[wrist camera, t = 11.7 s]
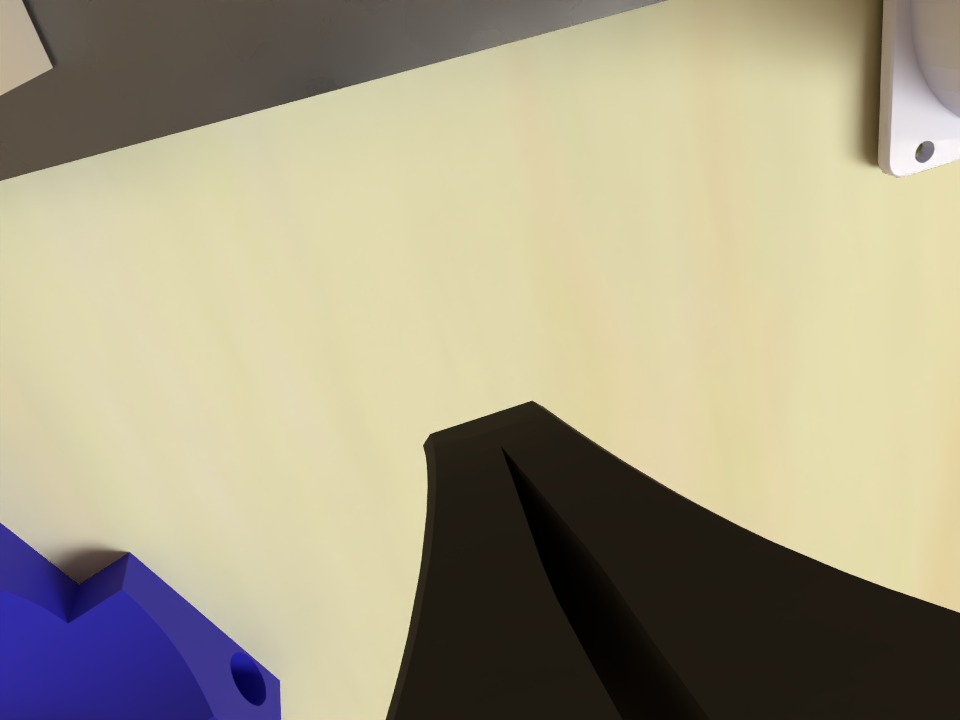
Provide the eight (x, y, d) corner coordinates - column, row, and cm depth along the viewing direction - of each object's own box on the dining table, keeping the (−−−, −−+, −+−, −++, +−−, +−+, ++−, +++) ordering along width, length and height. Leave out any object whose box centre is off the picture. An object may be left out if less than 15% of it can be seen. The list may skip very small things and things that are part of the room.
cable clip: (279, 674, 22) (286, 890, 17) (148, 757, 23) (115, 995, 17) (-72, 373, 16) (-224, 564, 11) (-248, 488, 17) (-477, 729, 11)
